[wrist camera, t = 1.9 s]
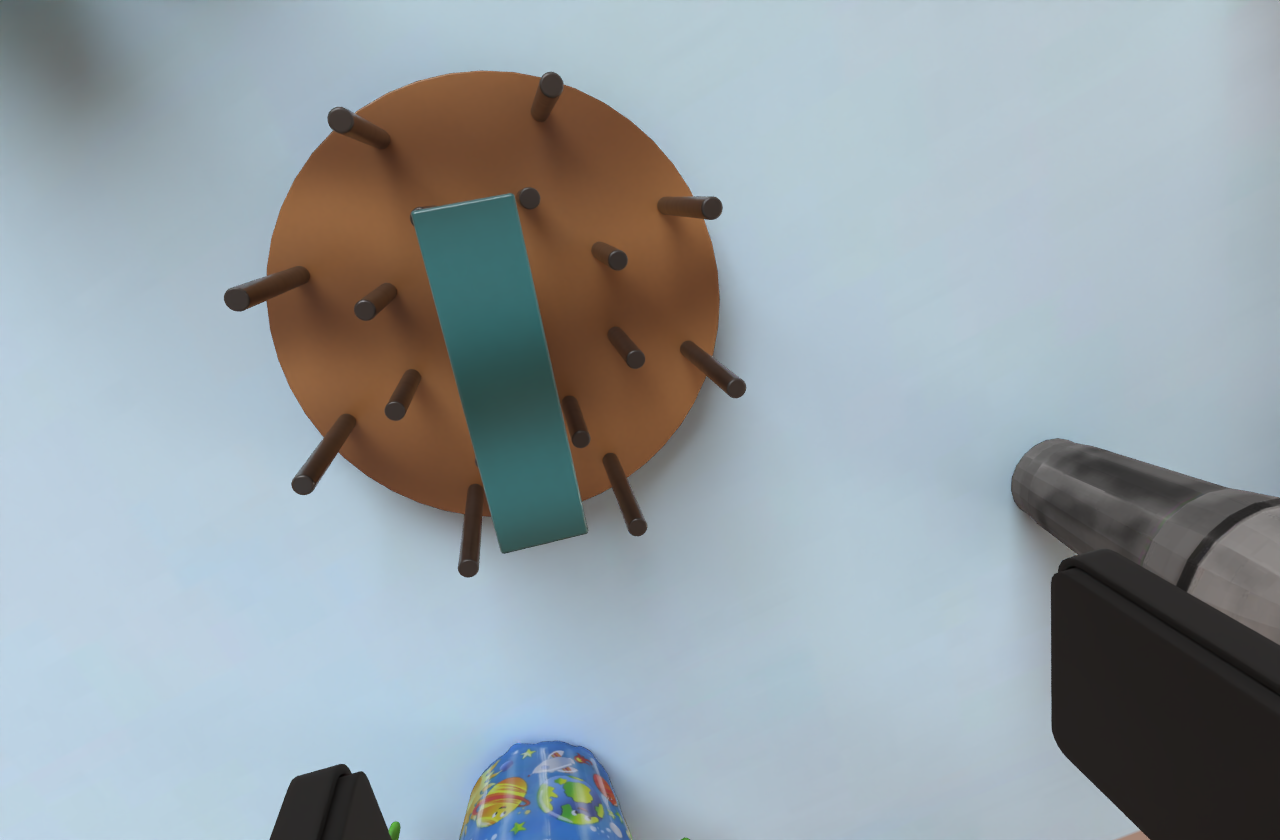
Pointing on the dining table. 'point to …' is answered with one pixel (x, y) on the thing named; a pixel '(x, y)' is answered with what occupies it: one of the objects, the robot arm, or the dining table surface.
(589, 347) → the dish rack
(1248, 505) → the beverage cup
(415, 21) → the dining table surface
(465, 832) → the snack cup
